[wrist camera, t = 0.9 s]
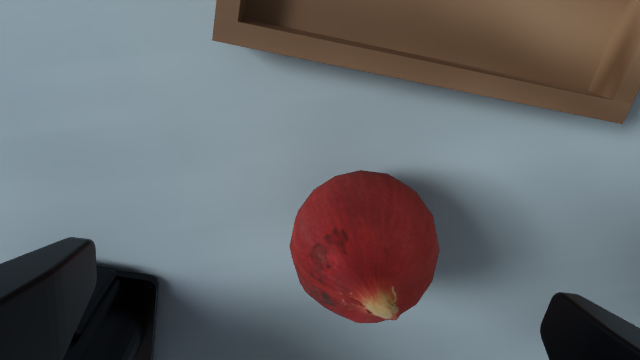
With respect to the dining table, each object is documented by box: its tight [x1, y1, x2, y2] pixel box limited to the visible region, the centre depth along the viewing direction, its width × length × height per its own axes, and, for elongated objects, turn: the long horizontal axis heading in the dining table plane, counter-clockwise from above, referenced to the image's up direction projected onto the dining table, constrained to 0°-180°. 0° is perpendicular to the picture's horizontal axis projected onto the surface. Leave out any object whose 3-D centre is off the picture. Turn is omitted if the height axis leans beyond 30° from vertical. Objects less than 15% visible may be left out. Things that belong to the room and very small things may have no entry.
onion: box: [290, 170, 439, 323], centre depth 18 cm, size 6×6×8 cm
